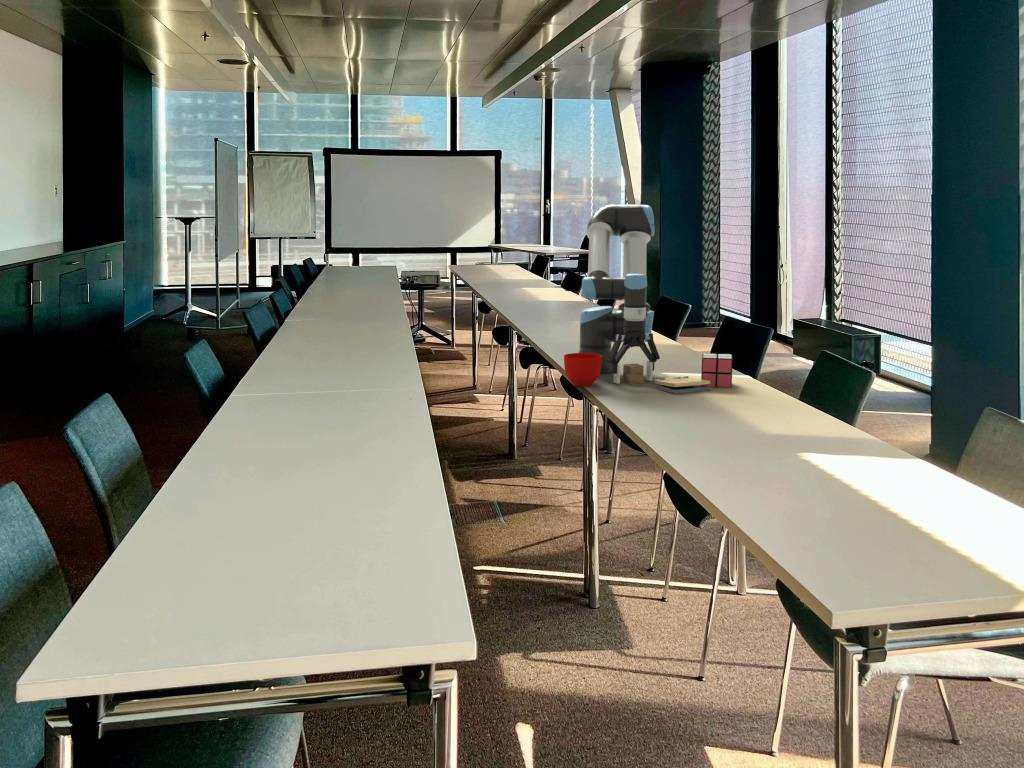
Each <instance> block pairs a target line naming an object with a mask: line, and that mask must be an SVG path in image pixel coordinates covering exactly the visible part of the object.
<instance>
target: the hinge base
mask: <svg viewBox="0 0 1024 768" xmlns="http://www.w3.org/2000/svg"><path fill="white" fill-rule="evenodd" d="M678 378H679V379H680V378H690V377H689V376H678ZM658 380H664V379H663V378H652V381H651V383H652V385H654V386H655V387H654V388H655V389H658V390H661V391H664V392H668V393H671V394H674V395H675V394H685V393H697V392H706V391H707V392H708V391H711V387H709V386H705V385H692V386H681V387H671V386H665V385H659V384H656V381H658Z"/></svg>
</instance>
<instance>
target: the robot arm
mask: <svg viewBox="0 0 1024 768" xmlns="http://www.w3.org/2000/svg"><path fill="white" fill-rule="evenodd" d="M655 232H656V231H655V217H654V212H653V208H652V207H651V205H648V204H641V203H638V204H613V203H612V204H607V205H605V206H602V207H601V208H599V209H598V210H596V212H595V213H594V214H593V215H592V216H591V218H590V219H589V222H588V224H587V226H586V236H587V238H588V239H589V242H588V263H587V264H588V265H587V268H588V270H587V276H585V277H583V278H582V280H581V296H582V297H583V299H592V300H622V302H621V303H619V305H618V306H617V308H618V310H614V308H613V307H612V306H611V305H601V306H595V307H589V308H585V309H583V310H581V312H580V317H579V324H580V325H579V349H578V353H593V354H599V355H602V367H601V372H600V374H608V373H609V374H610V373H612V374H613V383H614V384H618V385H619V384H621V379H620V378H621V364H619V363H620V362H621V360H622V358H623V357H624V356H625V354H626V352H628V350H629V349H630V348H635V347H636V348H637V347H638V348H640V350H641V351H642V352H643V354H644V355H645V357H646V358H647V359H648V360H646V368H645V369H646V370H645V371H646V373H645V376H646V377H645V379H646V380H647V381H649V382H652V381H653V372H654V371H655V363H656V362H657V361H658V360H660V358H661V356H660V354H659V351H658V349H657V346H656V343H655V340H654V334H653V332H652V330H653V323H654V315H655V311H654V310H651V306H650V304H649V303H648V302H647V295H648V294H647V291H648V289H647V288H648V278H647V277H648V276H647V245H648V243H649V242H651V237H654V236H655ZM612 237H619V241H620V242H621V243H622V245H623V250H622V251H623V255H622V256H623V257H622V277H610V258H611V257H610V251H611V250H610V247H611V246H610V245H611V244H610V243H611V239H612ZM612 343H613V344H612ZM646 343H647V344H648V345H647V344H646ZM648 347H649V348H648Z"/></svg>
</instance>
